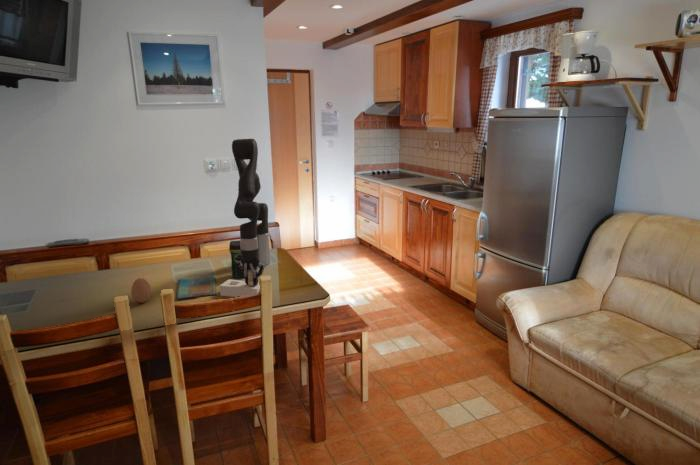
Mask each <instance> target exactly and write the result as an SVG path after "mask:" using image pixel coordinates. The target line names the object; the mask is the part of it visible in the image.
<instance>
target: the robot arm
mask: <svg viewBox="0 0 700 465" xmlns="http://www.w3.org/2000/svg"><path fill="white" fill-rule="evenodd" d="M231 150H232V155H233V158H234V161H235V164H236V168H237V172H238V177H239V180H238V188H237V189H238V194H237V199H236V201H235V205H234V208H233V214H234V216H235V218H237V219H240V220H241V219H248V220H249V221H248V222H244V223H242V224H240V225H239V235H240V236H239V238H240V248H241V258H242V259H241V261H239V262H237V263H236V266H237V268H238V271H239V273H240V275H243V276H244V277H245V278H244V280H245V283H246V285H248V273H247V270H251V271H252V273H253V277H254V278H253V283H254V286H256V285H257V284H258V282H259V277H261V276H263V272H264V270H265V268H266V266H267V265H270V263H271V254H270V253H271V252H270V237H269V236H270V235H269V234H270V233H269V208H268V207H269V206H268V205H267V204H268V203H265V202H256V201H254V199H255V198H256V197H257V196H258V194H259V192H260V190H261V188H262V187H261V181H260V180H261V179H260V177H259V174H258V173H257V167H258V166H257V165H258V155H259V152H258V150H259V148H258V143H257V141H256V139H254V138H242V139H241V138H237V139H233V141H232V144H231ZM246 160H247V161H248V160H249V161H248V164H247V162H246ZM258 221H261V222H260V223H259V224H258ZM242 265H243V266H244V268H243V266H242Z"/></svg>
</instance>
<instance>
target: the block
mask: <svg viewBox="0 0 700 465" xmlns="http://www.w3.org/2000/svg"><path fill="white" fill-rule="evenodd" d="M241 280H242V279H241ZM241 280H234V279H231V278H230V279H227V280H226V281H224V282H223V283H221V284H220V285H219V293H220V294H219V295H220V296H224V297H232V298H238V297H237V296H242V295H249V294H255V293H258V292H259V290H260V285H259V281H258V284H257V285H256V286H255V287H248V285H246V283H245V281H241Z"/></svg>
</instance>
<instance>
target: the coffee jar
mask: <svg viewBox="0 0 700 465" xmlns="http://www.w3.org/2000/svg"><path fill="white" fill-rule="evenodd" d="M228 250H229V253H230V258H231V264H230V265H231V268H230V269H231V270H230V271H231V272H230V274H231V275H230V276H231V278H233V279H245V277H244V276H243V275H240V273H239V271H238V268H237V266H236V263H237V262H239V261H241V259H242V258H241V248H240V240H231V241H230V242H229V248H228ZM242 266H243V265H242ZM243 268H244V266H243Z"/></svg>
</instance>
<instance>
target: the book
mask: <svg viewBox="0 0 700 465" xmlns="http://www.w3.org/2000/svg"><path fill="white" fill-rule="evenodd" d="M176 289H177V290H176V292H177V294H176V297H177V298H176V300H177V301H179V302H181V301H188V300H195V299H196V298H197V299H198V298H203V297H211V296H217V294H218V293H217V291H218V290H217V282H216V277H215V276H214V275H207V276H201V277H195V278H180V279H177V288H176Z"/></svg>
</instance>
